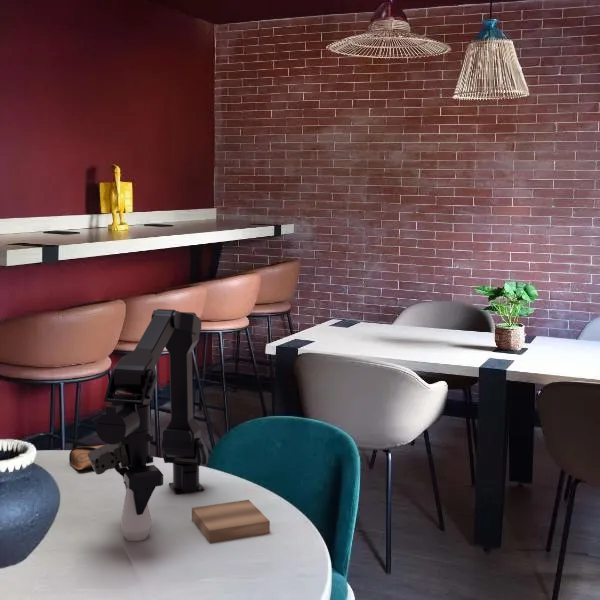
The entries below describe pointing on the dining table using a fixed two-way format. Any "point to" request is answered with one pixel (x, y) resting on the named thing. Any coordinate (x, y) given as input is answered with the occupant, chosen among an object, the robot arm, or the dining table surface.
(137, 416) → the robot arm
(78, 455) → the sunglasses case
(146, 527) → the salt shaker
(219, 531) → the walnut riser block
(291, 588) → the dining table surface
